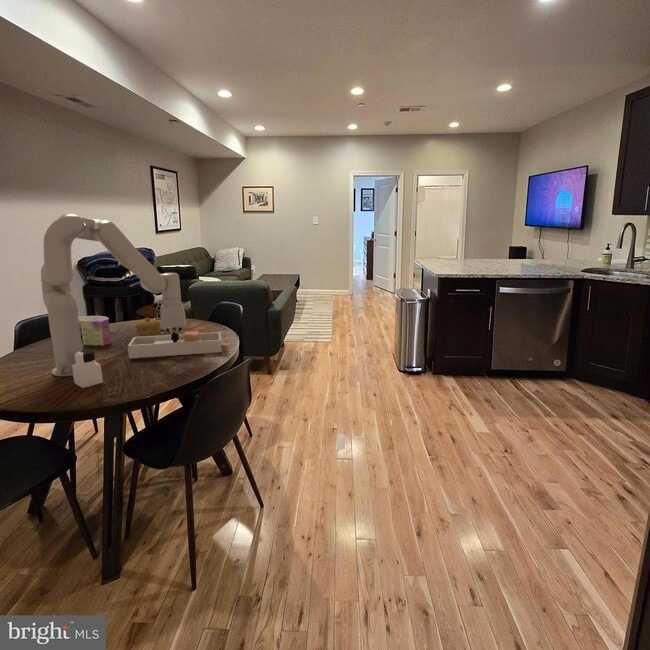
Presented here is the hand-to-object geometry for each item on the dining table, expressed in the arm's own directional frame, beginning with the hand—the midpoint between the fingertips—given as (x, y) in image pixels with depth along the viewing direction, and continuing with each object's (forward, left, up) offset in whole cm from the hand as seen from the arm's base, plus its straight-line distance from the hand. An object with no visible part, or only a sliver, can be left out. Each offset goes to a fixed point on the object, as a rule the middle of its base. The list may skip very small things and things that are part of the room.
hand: (175, 341), depth 187 cm
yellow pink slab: (+40, +47, -5) cm, 62 cm away
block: (0, -7, 0) cm, 7 cm away
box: (+21, +37, -5) cm, 43 cm away
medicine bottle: (-32, +27, -5) cm, 42 cm away
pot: (+28, +15, -5) cm, 32 cm away
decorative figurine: (+48, +10, -5) cm, 49 cm away
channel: (0, -1, -4) cm, 5 cm away
